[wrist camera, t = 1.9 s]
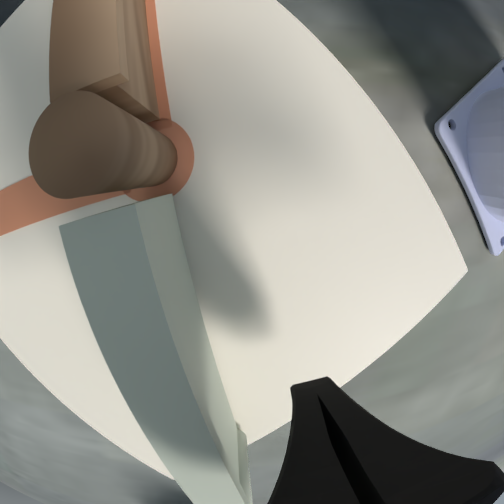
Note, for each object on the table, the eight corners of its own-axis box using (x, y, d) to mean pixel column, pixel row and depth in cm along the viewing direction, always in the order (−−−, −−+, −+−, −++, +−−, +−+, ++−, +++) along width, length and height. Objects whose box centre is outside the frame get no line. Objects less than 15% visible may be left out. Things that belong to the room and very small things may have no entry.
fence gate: (180, 191, 10) (134, 204, 5) (249, 445, 13) (257, 526, 8) (132, 202, 10) (58, 226, 5) (216, 450, 13) (215, 529, 8)
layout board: (140, -81, 7) (138, -85, 6) (463, 268, 13) (468, 270, 12) (-82, 183, 9) (-86, 184, 9) (173, 475, 15) (172, 480, 14)
